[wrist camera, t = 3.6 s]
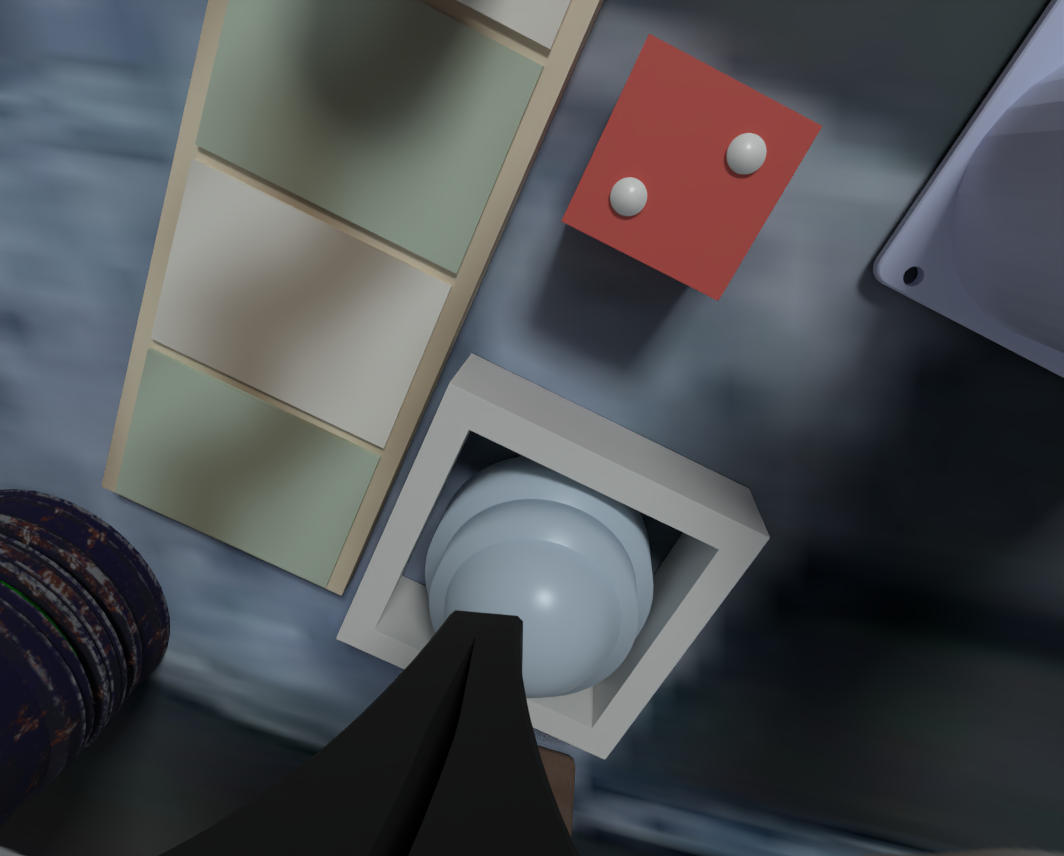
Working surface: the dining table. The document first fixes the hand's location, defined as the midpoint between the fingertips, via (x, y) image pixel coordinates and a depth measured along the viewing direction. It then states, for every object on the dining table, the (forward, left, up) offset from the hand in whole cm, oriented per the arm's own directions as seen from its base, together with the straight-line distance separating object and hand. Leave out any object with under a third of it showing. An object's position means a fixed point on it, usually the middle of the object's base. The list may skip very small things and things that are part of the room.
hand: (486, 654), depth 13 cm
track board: (+8, -4, -9) cm, 13 cm away
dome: (-2, +3, -9) cm, 9 cm away
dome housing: (-2, +3, -9) cm, 10 cm away
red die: (0, -9, -9) cm, 13 cm away
